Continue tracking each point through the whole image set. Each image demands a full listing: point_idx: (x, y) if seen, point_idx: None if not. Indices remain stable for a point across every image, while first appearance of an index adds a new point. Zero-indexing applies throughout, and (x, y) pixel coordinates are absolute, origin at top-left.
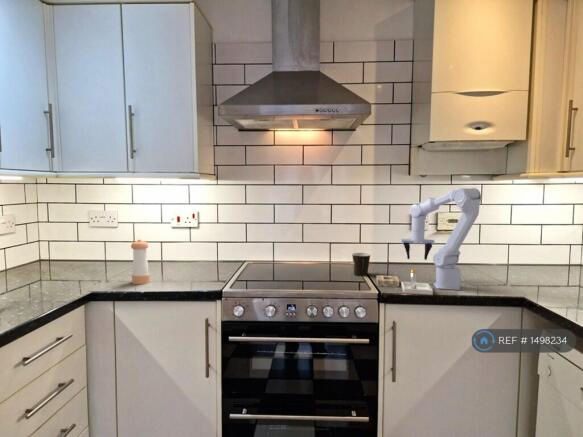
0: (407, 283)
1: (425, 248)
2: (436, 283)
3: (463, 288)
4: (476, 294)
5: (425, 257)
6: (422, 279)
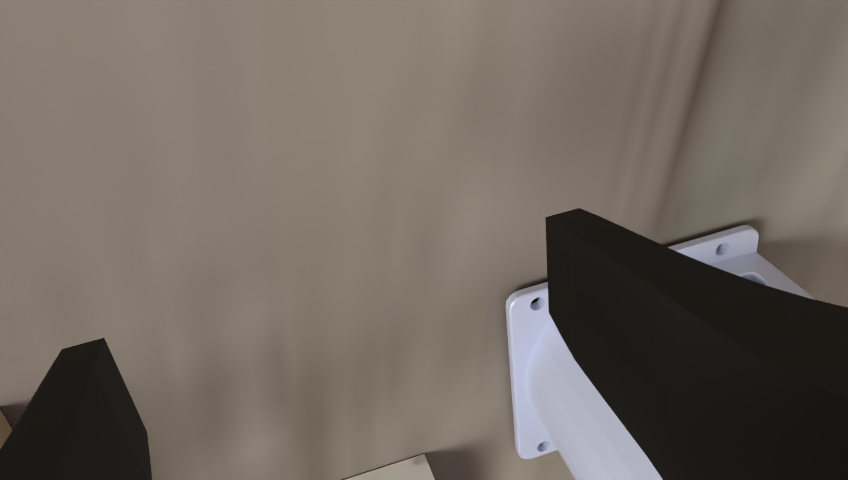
0: None
1: (753, 474)
2: (539, 417)
3: None
4: None
5: (582, 369)
6: (374, 98)
